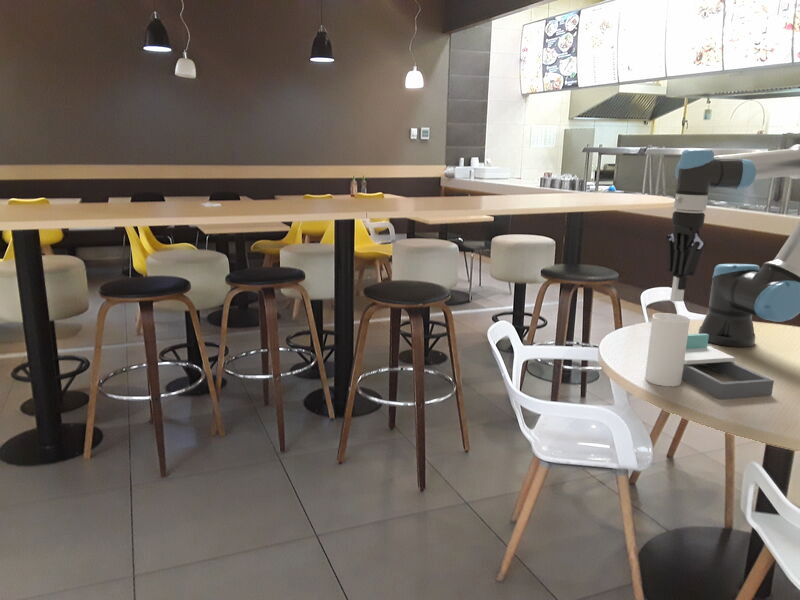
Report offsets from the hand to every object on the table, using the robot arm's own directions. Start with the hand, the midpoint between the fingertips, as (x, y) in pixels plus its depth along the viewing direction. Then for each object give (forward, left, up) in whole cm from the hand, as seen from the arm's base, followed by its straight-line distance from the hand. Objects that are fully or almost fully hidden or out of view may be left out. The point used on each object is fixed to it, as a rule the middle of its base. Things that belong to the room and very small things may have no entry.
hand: (676, 300), depth 165 cm
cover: (0, +10, -12) cm, 16 cm away
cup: (+12, +15, -16) cm, 25 cm away
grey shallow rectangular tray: (0, +17, -16) cm, 23 cm away
